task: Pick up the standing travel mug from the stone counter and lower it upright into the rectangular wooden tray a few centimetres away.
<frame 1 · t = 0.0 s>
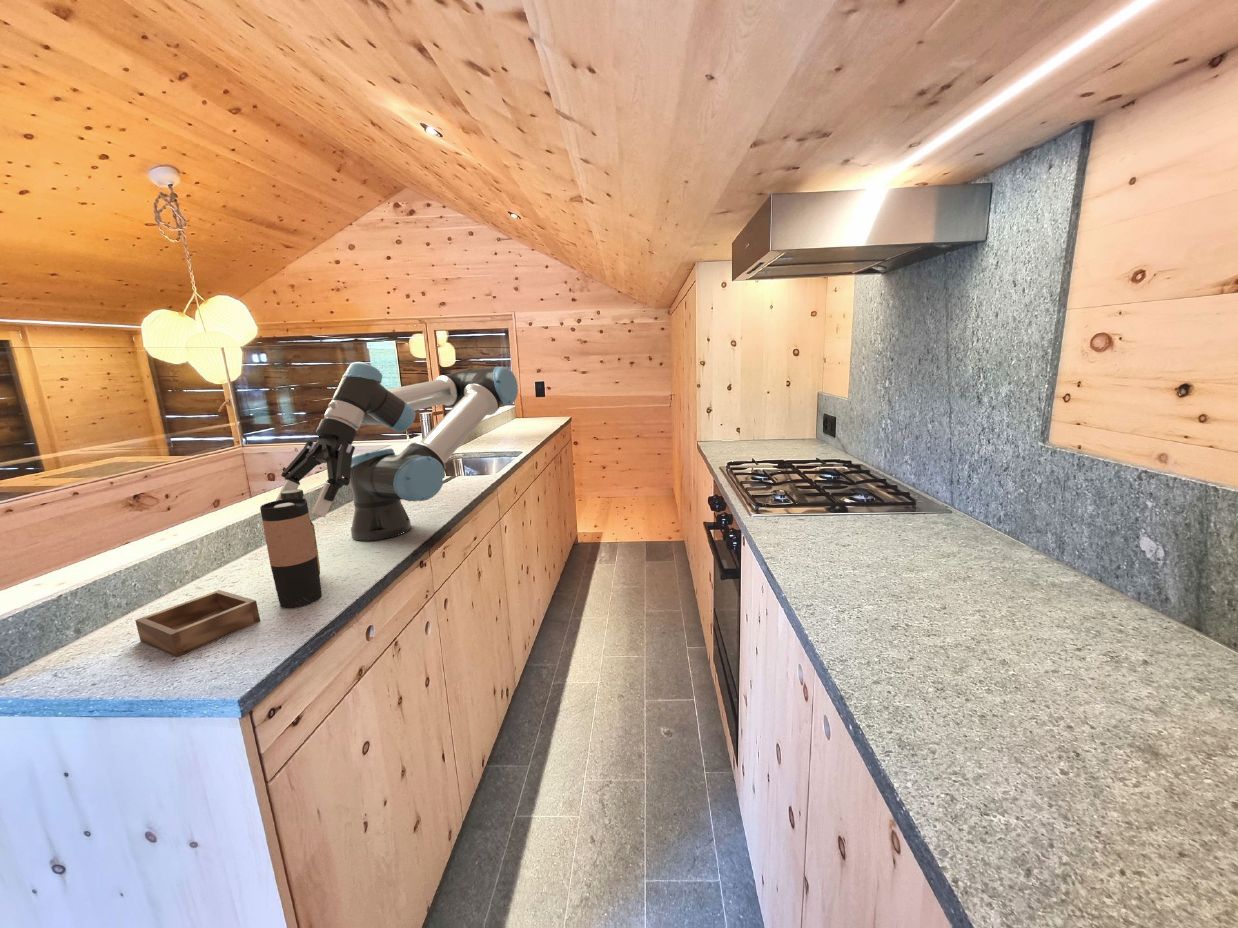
hand: (298, 512, 106), 15 cm above the countertop, tool tilted 35°, fingers open, 13 cm apart
sauce bottle: (305, 579, 109), on the countertop
travel mug: (301, 601, 99), on the countertop
rectangular wooden tray: (202, 630, 88), on the countertop
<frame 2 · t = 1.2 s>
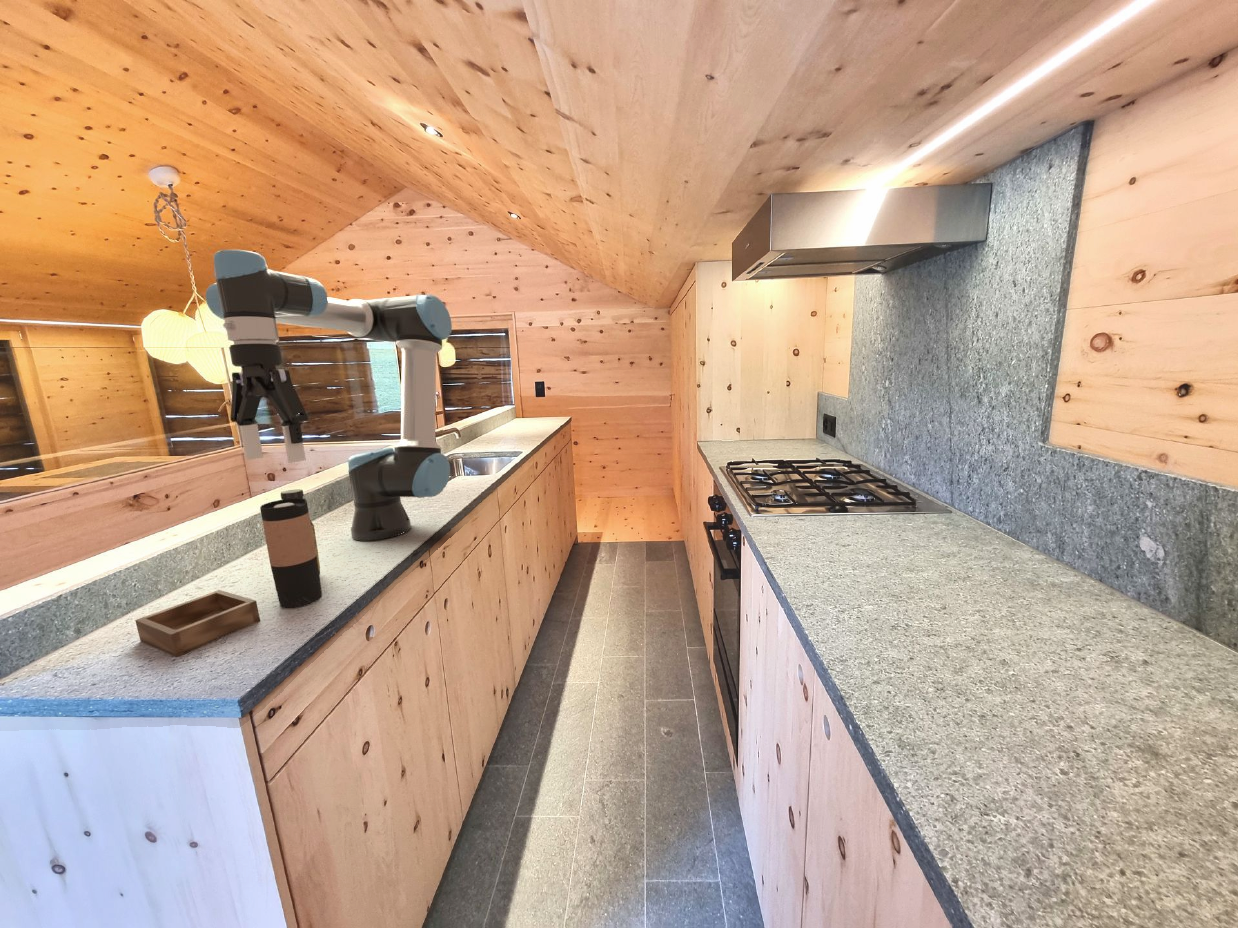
hand: (275, 460, 93), 28 cm above the countertop, tool pointing down, fingers open, 13 cm apart
nothing on the countertop moved.
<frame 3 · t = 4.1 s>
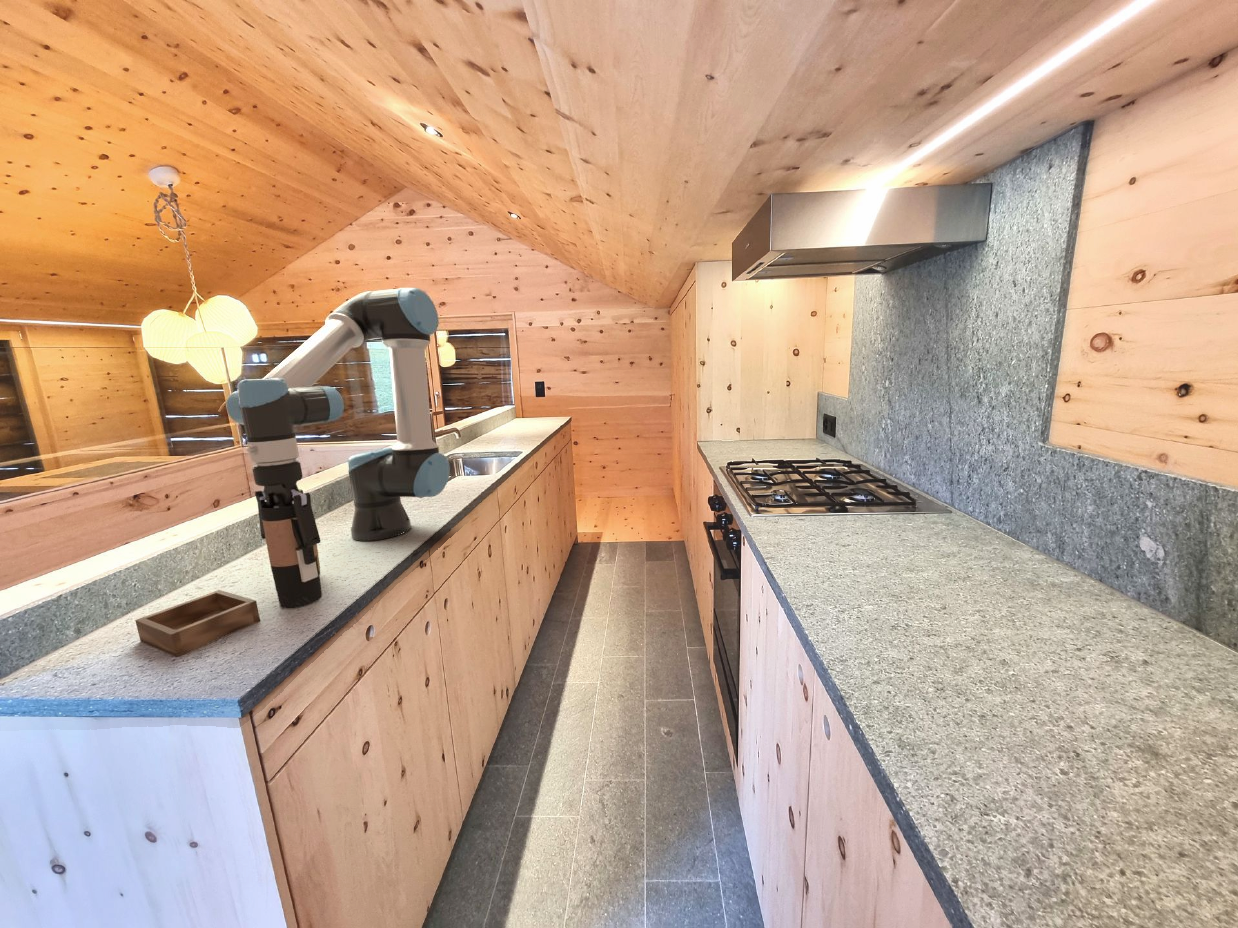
hand: (296, 575, 98), 5 cm above the countertop, tool pointing down, fingers closed on travel mug, 8 cm apart
travel mug: (301, 601, 99), on the countertop, touching gripper
everything else where it was.
when the fingers open (7 cm above the countertop, at t = 10.0 s): travel mug drops 1 cm, resting on rectangular wooden tray.
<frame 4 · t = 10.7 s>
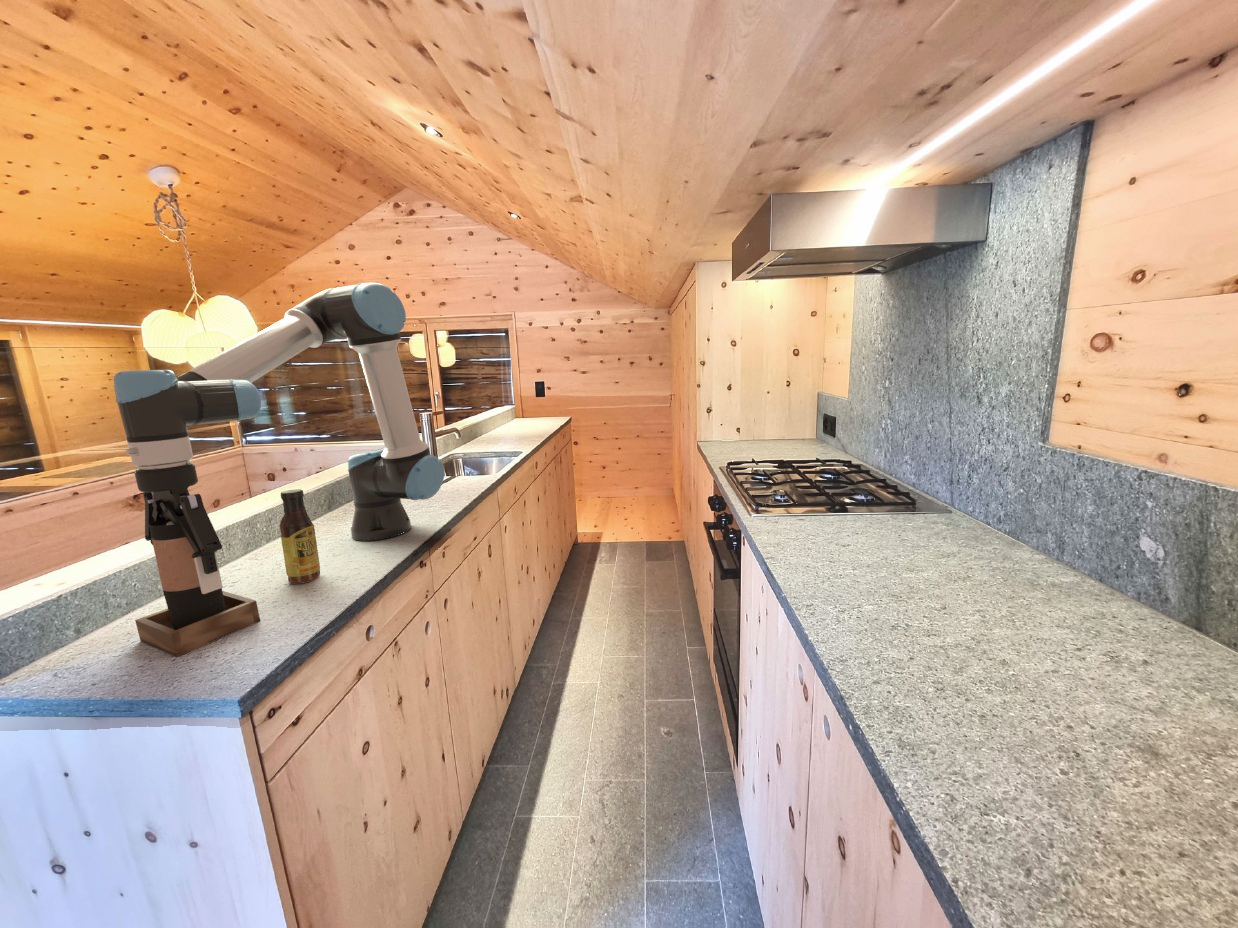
hand: (191, 584, 87), 9 cm above the countertop, tool pointing down, fingers open, 13 cm apart
travel mug: (202, 628, 88), resting on rectangular wooden tray
everything else where it was.
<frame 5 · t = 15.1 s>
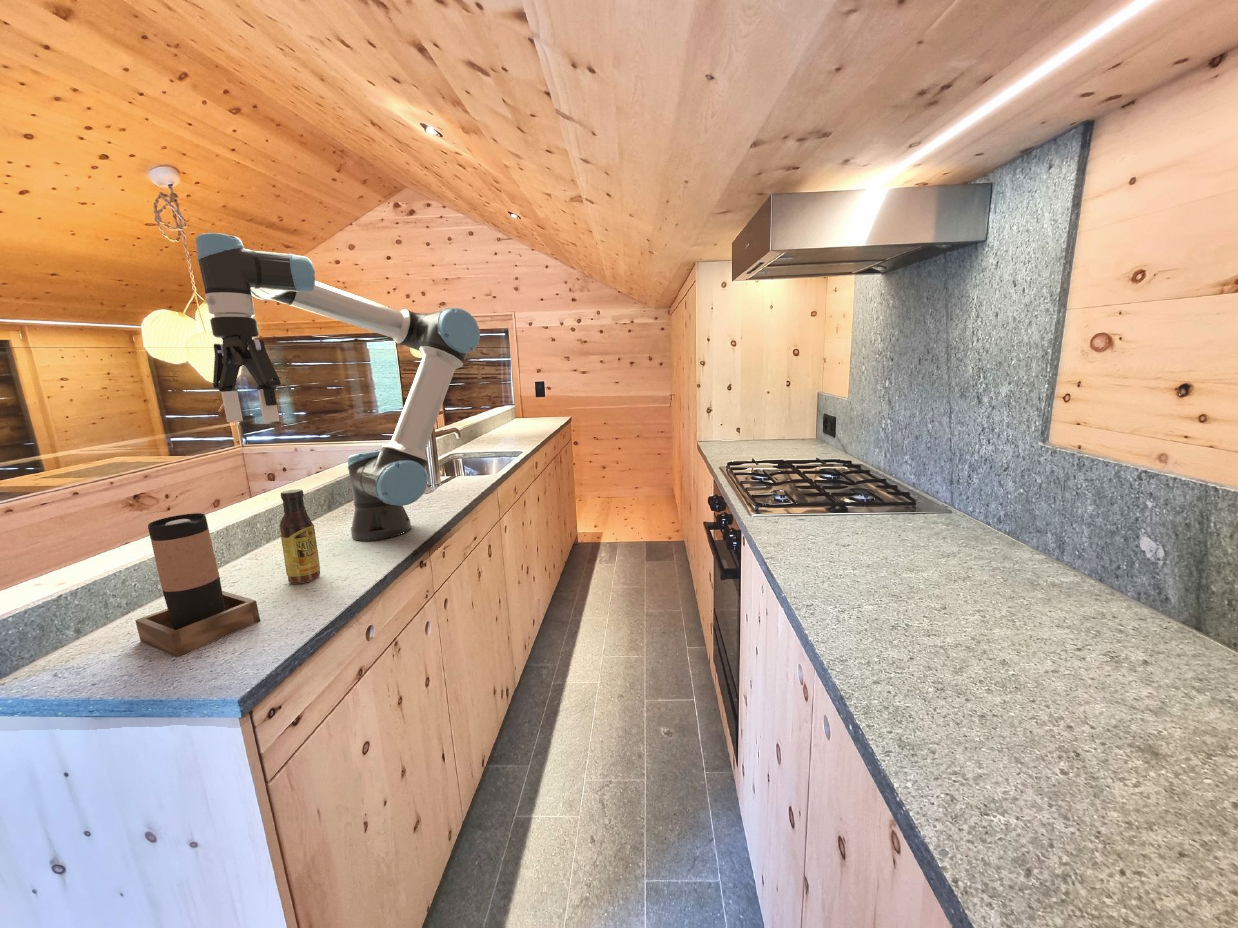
hand: (252, 421, 105), 35 cm above the countertop, tool pointing down, fingers open, 13 cm apart
nothing on the countertop moved.
at the end: travel mug 0.0 cm off-centre on the rectangular wooden tray, point 0.4 cm above the rectangular wooden tray's base; travel mug tilted 0°; the gripper is holding nothing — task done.
